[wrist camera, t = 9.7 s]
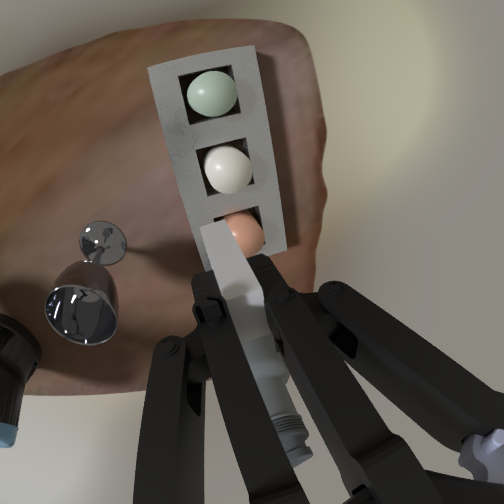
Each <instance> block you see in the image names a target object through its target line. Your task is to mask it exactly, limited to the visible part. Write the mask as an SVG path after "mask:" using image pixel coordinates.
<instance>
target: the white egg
mask: <svg viewBox="0 0 504 504" xmlns="http://www.w3.org/2000/svg"><path fill="white" fill-rule="evenodd" d="M203 169H204V171H205V173H206V175H207V178H208V180H209V182H210V184H211V185H212V187H213V188H214V189H216V190H217V191H219V192H221V193H225V194H233V193H237V192H239V191H241V190H242V189H244V188H245V187H246V186H247V185H248V183H249V182H250V180H251V177H252V172H253V169H252V164H251V162H250V160H249V159H248V157H247V156H245V155H244V154H243V153H242V152H240V151H239V150H238V149H237V148H235V147H234V146H232V145H230V144H225V143H222V144H217V145H214V146H213V147H211V148H210V149H209V150H208V151H207V152H206V154H205V155H204V158H203Z"/></svg>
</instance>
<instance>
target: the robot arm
mask: <svg viewBox="0 0 504 504" xmlns="http://www.w3.org/2000/svg"><path fill="white" fill-rule="evenodd" d="M200 230H201V234H202V237H203V241H204V244H205V247H206V250H207V254H208V257H209V260H210V264H211V267H212V270H209V271H206V272H203V273H200V274H197V275H194V276H193V279H192V282H191V285H192V290H193V295H194V299H195V303H194V305H193V308H192V312H193V314H194V316H195V319H196V321H197V323H198V325H197V327H196V328H195V329H194V330H193V332H191V333H190V334H189V335H187V336H185V337H184V338H181V337H179V336H168V337H165V338H163V339H162V340H160V341H159V342H158V343H157V344H156V346H155V349H154V352H153V357H152V362H151V368H150V373H149V378H148V384H147V390H146V396H145V402H144V408H143V415H142V421H141V429H140V436H139V444H138V452H137V461H136V470H135V482H134V494H133V504H204V427H205V391H206V380H207V379H208V378H210V377H212V381H213V384H214V388H215V391H216V395H217V398H218V402H219V405H220V409H221V412H222V415H223V419H224V422H225V425H226V429H227V432H228V435H229V438H230V441H231V444H232V447H233V450H234V453H235V456H236V459H237V462H238V465H239V468H240V471H241V474H242V477H243V479H244V482H245V485H246V488H247V491H248V494H249V502H250V504H310V503H309V501H308V499H307V497H306V494H305V492H304V490H303V488H302V486H301V484H300V483H299V481H298V479H297V477H296V475H295V473H294V470H293V468H292V466H291V463H290V461H289V459H288V457H287V455H286V452H285V450H284V448H283V445H282V443H281V441H280V439H279V436H278V434H277V432H276V429H275V427H274V424H273V422H272V420H271V417H270V415H269V413H268V410H267V408H266V405H265V403H264V400H263V398H262V396H261V393H260V391H259V388H258V386H257V383H256V381H255V378H254V376H253V373H252V371H251V368H250V365H249V363H248V360H247V358H246V355H245V353H244V350H243V347H242V345H241V344H243V343H246V342H249V341H252V340H255V339H257V338H260V337H263V336H266V335H269V334H271V332H272V334H273V336H274V342H275V347H276V352H277V353H278V352H280V355H281V357H282V359H283V361H284V363H285V365H286V367H287V369H288V371H289V373H290V375H291V377H292V379H293V381H294V383H295V385H296V386H297V389H298V390H299V393H300V395H301V397H302V399H303V401H304V403H305V405H306V407H307V408H308V411H309V413H310V415H311V417H312V419H313V420H314V423H315V424H316V426H317V428H318V430H319V432H320V434H321V436H322V438H323V440H324V442H325V444H326V446H327V448H328V450H329V452H330V454H331V455H332V457H333V459H334V461H335V463H336V465H337V467H338V469H339V471H340V474H341V478H342V481H343V483H344V485H345V487H346V489H347V491H348V493H349V495H350V497H351V498H349V499H348V500H347V501H346V502H344V503H343V504H504V393H501V392H497V391H494V390H492V389H491V388H490V387H488V386H487V385H486V384H485V383H483V382H482V381H481V380H479V379H478V378H476V377H475V376H474V375H473V374H471V373H470V372H469V371H467V370H466V369H465V368H463V367H462V366H461V365H459V364H458V363H456V362H455V361H454V360H453V359H451V358H450V357H448V356H447V355H445V354H444V353H443V352H442V351H440V350H439V349H438V348H436V347H435V346H433V345H432V344H431V343H429V342H428V341H427V340H425V339H424V338H422V337H421V336H420V335H418V334H417V333H415V332H414V331H413V330H411V329H409V328H408V327H407V326H405V325H404V324H403V323H401V322H400V321H399V320H397V319H395V318H394V317H393V316H392V315H390V314H389V313H387V312H386V311H384V310H383V309H382V308H380V307H379V306H377V305H376V304H374V303H373V302H372V301H370V300H369V299H367V298H366V297H364V296H363V295H361V294H360V293H359V292H357V291H356V290H354V289H353V288H351V287H350V286H348V285H347V284H345V283H343V282H340V281H329V282H326V283H324V284H323V285H322V286H320V288H319V291H318V292H315V293H298V292H297V291H296V290H295V289H293V288H290V287H289V286H288V285H287V283H286V282H285V280H284V279H283V277H282V276H281V274H280V273H279V271H278V270H277V268H276V267H275V265H274V264H273V262H272V261H271V259H270V258H269V257H268V256H266V255H264V254H262V253H261V254H258V255H254V256H251V257H248V258H245V256H244V254H243V252H242V251H241V249H240V247H239V245H238V243H237V241H236V239H235V238H234V236H233V234H232V232H231V230H230V228H229V226H228V224H227V223H226V221H225V219H224V220H221V221H217V222H214V223H211V224H207V225H204V226H201V227H200ZM270 330H271V332H270ZM40 358H41V350H40V347H39V345H38V343H37V341H36V339H35V338H34V337H33V336H32V334H31V333H30V332H29V331H28V330H27V329H26V328H25V327H23V326H22V325H21V324H19V323H18V322H17V321H15V320H13V319H11V318H9V317H7V316H5V315H1V314H0V447H1V448H10V447H12V446H13V445H14V443H15V439H16V435H17V431H18V422H19V415H20V409H21V403H22V398H23V393H24V389H25V385H26V383H27V382H28V380H29V379H30V377H31V376H32V375H33V373H34V372H35V370H36V369H37V368H38V365H39V362H40ZM344 360H345V361H346V362H347V363H348V364H349V365H350V366H351V367H352V368H354V369H355V370H356V371H357V372H358V373H359V374H360V375H361V376H363V377H364V378H365V379H366V380H367V381H368V382H369V383H371V384H372V385H373V386H374V387H375V388H376V389H377V390H379V391H380V392H381V393H382V394H383V395H384V396H385V397H386V398H388V399H389V400H390V401H391V402H392V403H393V404H395V405H396V406H397V407H398V408H399V409H400V410H402V411H403V412H404V413H405V414H406V415H407V416H408V417H410V418H411V419H412V420H413V421H414V422H415V423H417V424H418V425H419V426H420V427H421V428H422V429H424V430H425V431H426V432H427V433H428V434H430V435H431V436H432V437H433V438H434V439H436V440H437V441H438V442H440V443H441V444H442V445H444V446H446V447H447V448H449V449H451V450H453V451H456V452H459V453H460V457H459V460H458V462H459V465H460V466H461V467H464V468H466V469H467V470H469V471H470V472H471V473H472V475H473V478H474V480H471V479H465V478H459V477H455V476H450V475H446V474H441V473H437V472H433V471H429V470H424V469H423V467H422V466H421V464H420V463H419V461H418V460H417V458H416V456H415V455H414V453H413V452H412V450H411V449H410V447H409V446H408V444H407V443H406V442H405V440H404V439H403V438H402V437H400V436H399V435H396V434H393V433H392V432H391V431H390V430H389V429H388V427H387V426H386V424H385V423H384V421H383V420H382V418H381V416H380V415H379V413H378V412H377V410H376V409H375V408H374V406H373V404H372V403H371V401H370V400H369V398H368V396H367V395H366V393H365V392H364V390H363V389H362V387H361V386H360V384H359V383H358V381H357V380H356V378H355V377H354V375H353V374H352V372H351V371H350V369H349V368H348V366H347V365H346V363H345V362H344Z"/></svg>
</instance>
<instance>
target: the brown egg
mask: <svg viewBox="0 0 504 504" xmlns="http://www.w3.org/2000/svg"><path fill="white" fill-rule="evenodd" d="M224 219H225V221H226V223H227V224H228V226H229V228H230V230H231V232H232V234H233V236H234V238H235V239H236V241H237V243H238V245H239V247H240V249H241V251H242V252H243V254H244V256H245V258H248V257H251V256H254V255H255V254H257V253H258V252H259V251H260V250H261V248H262V247H263V245H264V241H265V235H264V232H263V230H262V229H261V227H260V226H259V224H258V223H257V221H256V220H255V218H254V217H253V215H252V214H251V213H250V212H249V211H248V210H247V209H244V210H241V211H237V212H234V213H230V214H227V215H223V216H221V218H220V220H219V221H221V220H224Z"/></svg>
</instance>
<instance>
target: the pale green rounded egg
mask: <svg viewBox="0 0 504 504" xmlns="http://www.w3.org/2000/svg"><path fill="white" fill-rule="evenodd" d="M186 98H187V102H188V104H189V106H190V107H191V108H192V109H193V110H194V111H196V112H198V113H200V114H202V115H205V116H210V117H215V116H220V115H223V114H225V113H226V112H228V111H229V110H230V109H231V108H232V107H233V106H234V104H235V102H236V99H237V87H236V84H235V82H234V81H233V79H232V78H231V77H230V76H228V75H227V74H225V73H223V72H219V71H209V72H205V73H203V74H201V75H199V76H198V77H197V78H196V79H194V80H193V81H192V82H191V83H190V85H189V87H188V89H187V93H186Z"/></svg>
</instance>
